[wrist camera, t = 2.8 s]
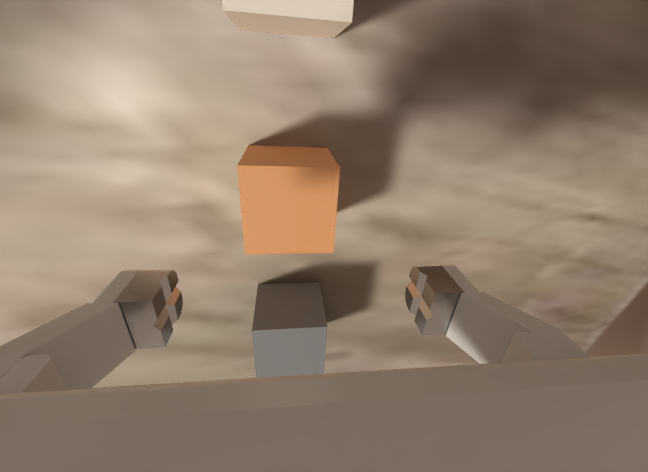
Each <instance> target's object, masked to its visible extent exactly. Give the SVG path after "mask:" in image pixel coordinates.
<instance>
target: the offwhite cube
mask: <svg viewBox="0 0 648 472" xmlns="http://www.w3.org/2000/svg"><path fill="white" fill-rule="evenodd" d="M222 3H223V11H224V12H225V13H226V14H227V15H228V16H229V18H230V19H231V20H232V21H233V22H234V23H235V24H236V26H237V27H238V28H239V29H240V30H243V31H254V32H266V33H277V34H289V35H300V36H311V37H323V38H335V37H336V36H337V35H338V34H339V33H340V32H342V31H343V30H344V29H345V28H346V27H347V26H349V25H350V24H351V23H352V16H353V4H354V0H222Z"/></svg>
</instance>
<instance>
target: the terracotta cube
mask: <svg viewBox="0 0 648 472" xmlns="http://www.w3.org/2000/svg"><path fill="white" fill-rule="evenodd" d="M237 167H238V178H239V190H240V201H241V212H242V223H243V235H244V246H245V254H294V253H333V251H334V238H335V226H336V214H337V202H338V190H339V178H340V166H339V165H338V163H337V162H336V160H335V159H334V157H333V156H332V154H331V152H330V151H329V149H328V148H322V147H291V146H260V145H248V147H247V149H246V151H245V153H244V154H243V156H242V158H241V160H240V161H239V163H238V165H237Z"/></svg>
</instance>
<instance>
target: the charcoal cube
mask: <svg viewBox="0 0 648 472" xmlns="http://www.w3.org/2000/svg"><path fill="white" fill-rule="evenodd" d="M252 335H253V346H254V357H255V368H256V378H263V377H279V376H295V375H311V374H323V373H324V361H325V349H326V337H327V322H326V316H325V310H324V305H323V299H322V293H321V287H320V282H309V283H276V284H258V289H257V297H256V305H255V312H254V320H253V328H252Z"/></svg>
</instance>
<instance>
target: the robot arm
mask: <svg viewBox="0 0 648 472" xmlns="http://www.w3.org/2000/svg"><path fill="white" fill-rule="evenodd" d="M409 277H410V278H411V280H412V282H411V283H409V284H408V285H407V287H406V292H405V298H406V304H407V307H408V309H409V311H410V312H411V313H413V314H414V315H416V317H415V322H416V324H417V326H418V328H419V330H420V332H421V333H422V335H446V336H447V337H448V338H449V339H450V340H452V341H453V342H454V343H455V344H457V345H458V346H459V347H460V348H462V349H463V350H464V351H465V352H467V353H468V354H469V355H470V356H471V357H473V358H474V359H475V360H476V361H478V362H479V363H480V364H474V365H459V366H443V367H427V368H410V369H393V370H377V371H360V372H343V373H327V374H311V375H295V376H279V377H263V378H247V379H231V380H215V381H199V382H183V383H167V384H151V385H134V386H118V387H102V388H92V387H93V386H95V385H96V384H97V383H98V382H99V381H100V380H102V379H103V378H104V377H105V376H106V375H107V374H109V373H110V372H111V371H112V370H113V369H115V368H116V367H117V366H118V365H119V364H120V363H122V362H123V361H124V360H125V359H126V358H127V357H129V356H130V355H131V354H132V353H133V352H134V351H135V349H145V348H159V347H166V345H167V342H168V340H169V338H170V336H171V334H172V332H173V328H172V324H173V323H174V322H176V321H177V320H178V319H179V316H180V314H181V310H182V305H183V304H182V294H181V291H180V290H179V289H177V288H176V285H177V283H178V277H177V273H176V272H175V271H174V270H125V271H121V272H120V273H119V274H118V275H117V276H116V278H115V279H114V280H113V281H112V282H111V283H110V284H109V285H108V287H107V288H106V289H105V290H104V291H103V292H102V293H101V294H100V296H99V297H98V298H97V299H96V300H95V301H94V302H93V303H89V304H85V305H83V306H81V307H79V308H77V309H75V310H73V311H71V312H69V313H67V314H65V315H63V316H61V317H59V318H57V319H55V320H53V321H50V322H48V323H46V324H44V325H42V326H40V327H38V328H36V329H34V330H32V331H30V332H28V333H26V334H24V335H22V336H20V337H18V338H16V339H14V340H12V341H10V342H8V343H6V344H4V345H2V346H0V472H648V354H637V355H620V356H603V357H589V356H588V355H587V354H586V353H585V352H584V351H583V350H582V349H581V348H579V347H578V346H577V345H576V344H575V343H574V342H573V341H572V340H571V339H570V338H569V337H567V336H566V335H565V334H564V333H563V332H562V331H561V330H560V329H558V328H556V327H554V326H552V325H550V324H548V323H546V322H544V321H542V320H540V319H537V318H535V317H533V316H531V315H529V314H527V313H525V312H523V311H521V310H519V309H517V308H515V307H513V306H511V305H509V304H507V303H505V302H503V301H500V300H498V299H496V298H494V297H492V296H490V295H488V294H486V293H484V292H479V291H478V290H477V289H476V288H475V287H474V286H473V285H472V284H471V282H470V281H469V280H468V279H467V278H466V277H465V276H464V275H463V274H462V273H461V272H460V270H459V269H458V268H457V267H456V266H453V265H444V266H424V267H413V268H412V269H411V271H410V275H409Z"/></svg>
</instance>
